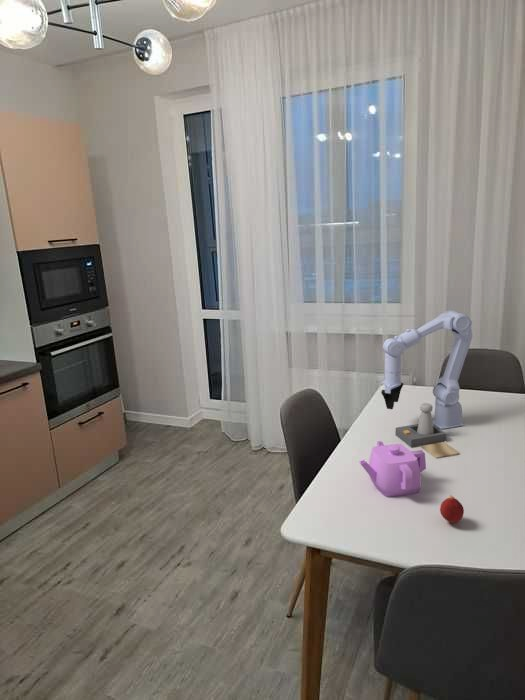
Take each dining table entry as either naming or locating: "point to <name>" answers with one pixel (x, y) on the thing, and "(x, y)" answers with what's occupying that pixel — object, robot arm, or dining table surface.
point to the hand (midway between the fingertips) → (392, 405)
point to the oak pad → (440, 450)
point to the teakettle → (395, 469)
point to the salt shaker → (425, 420)
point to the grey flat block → (419, 436)
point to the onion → (452, 510)
